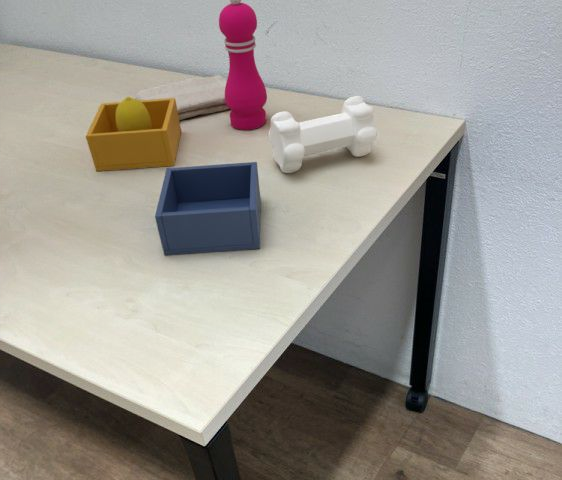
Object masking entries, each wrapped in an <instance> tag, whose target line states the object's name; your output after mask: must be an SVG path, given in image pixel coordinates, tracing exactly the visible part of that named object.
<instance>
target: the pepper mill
mask: <svg viewBox="0 0 562 480" xmlns="http://www.w3.org/2000/svg"><path fill="white" fill-rule="evenodd" d="M229 2H230V3H229V4H227V5H225V6H224V7H223V8H222V9H221V10H220V13H219V16H218V26H219V30H220V32H221V34H222V35H223V36H224V37H225V38H224V39H223V42H224V45H225V46H224V49H225V51H227V54H228V59H229V68H228V75H227V83H226V86H225V103H226V105H227V106H228V107H229V109H228V110H230V113H229V120H230V126H231V127H232V128H234V129H237V130H240V131H241V130H242V131H249V130H256V129H258V128H261V127H263V126H264V125H265V124H266V122H267V114H266V110H265V108H264V106H265V105H266V103H267V100H268V94H267V88H266V86H265V83H264V81H263V79H262V77H261V75H260V72H259V71H258V67H257V64H256V60H255V48H256V47H257V43H256V37H255V36H254V34H255V32H256V30H257V28H258V19H257V15H256V13H255V10H254V9H253V8H252V7H251V6H250V5H249V4H247V3H245V2H242V0H229Z"/></svg>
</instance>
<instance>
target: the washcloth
mask: <svg viewBox="0 0 562 480" xmlns="http://www.w3.org/2000/svg"><path fill="white" fill-rule="evenodd" d="M227 79H228V77H224V76H222V75H221V74H215V75H213V76H208V77H196V76H192V77H189V78H187V79H184V80H181V81H174V82H169V83H163V84H161V85H157V86H152V87H148V88H143V89H142V90H140V91H138V92H137V93H136V94H135V99H136V100H138V101H140V100H153V99H166V98H170V99H171V98H175V100H176V105H177V111H178V116H179V121H182V120H185V119H189V118H192V117H196V116H199V115H200V116H201V115H208V114H214V113H217V112H223V111H226V110H230V109H229V107H228V106H227V105H226V103H225V86H226V83H227Z"/></svg>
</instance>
